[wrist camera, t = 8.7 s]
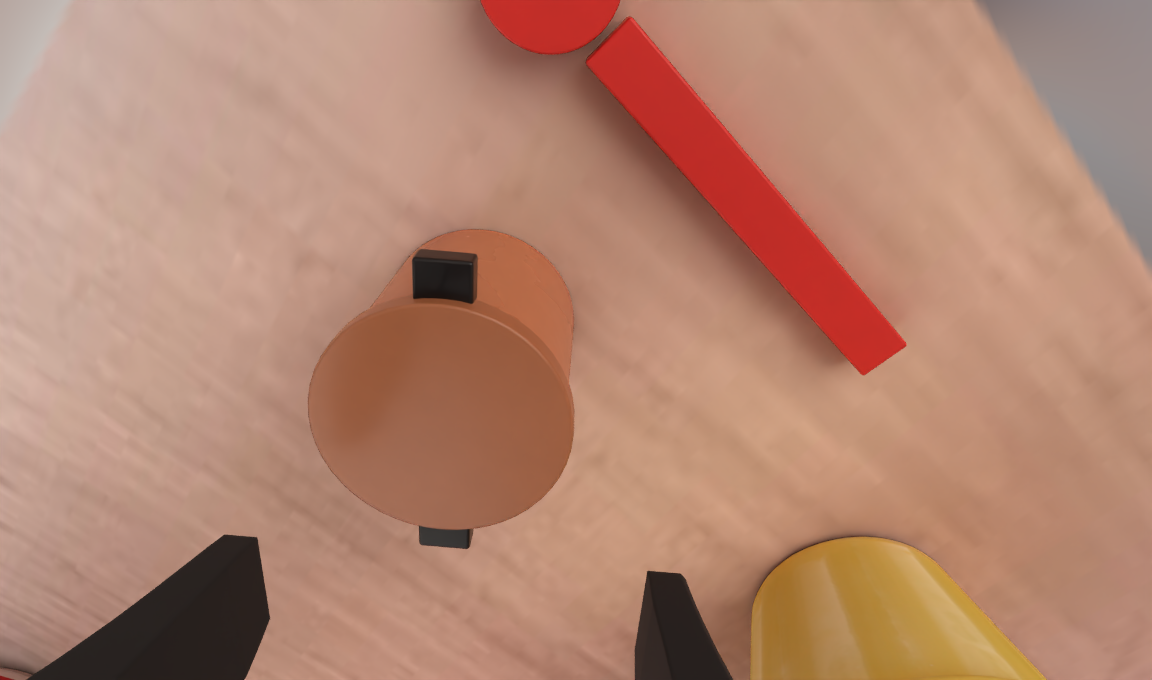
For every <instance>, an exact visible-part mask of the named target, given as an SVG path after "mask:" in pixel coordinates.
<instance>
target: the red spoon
mask: <svg viewBox="0 0 1152 680" xmlns="http://www.w3.org/2000/svg"><path fill="white" fill-rule="evenodd" d="M480 1H481V4H482V6H483V8H484V10H485V12H486V14H487V16H488V17H489V19H490V21H491V22H492V23H493V25H494V26H495V27H496V28H497V30H498V31H499V32H500V33H501V34H502V35H503V36H505V37H506V38H507V39H508V40H510V41H511V42H512V43H514V44H516V45H517V46H519V47H521V48H523V49H526V50H528V51H531V52H535V53H539V54H548V55H552V54H562V53H568V52H571V51H574V50H577V49H579V48H581V47H583V46H585V45H586V44H588V43H589V42H591V41H592V40H594V39H595V38H596V37H597V36H598V35H599V34H600V33H601V32H602V31H603V30H604V29H605V28H606V26H607V25H608V24H609V22H610V21H611V19H612V18H613V16H614V14H615V12H616V10H617V8H618V6H619V3H620V0H480ZM586 65H587V66H588V67H589V68H590V70H591V71H592V72H593V73H594V74H595V75H596V76H597V77H598V79H599V80H600V81H601V82H602V83H603V84H604V85H605V86H606V88H607V89H608V90H609V91H610V92H611V93H612V94H613V95H614V97H615V98H616V99H617V100H618V101H619V102H620V103H621V104H622V106H623V107H624V108H625V109H626V110H627V111H628V112H629V114H630V115H631V116H632V117H633V118H634V119H635V120H636V121H637V123H638V124H639V125H640V126H641V127H642V128H643V129H644V130H645V132H646V133H647V134H648V135H649V136H650V137H651V138H652V139H653V141H654V142H655V143H656V144H657V145H658V146H659V147H660V148H661V150H662V151H663V152H664V153H665V154H666V155H667V156H668V157H669V159H670V160H671V161H672V162H673V163H674V164H675V165H676V166H677V168H678V169H679V170H680V171H681V172H682V173H683V174H684V175H685V177H686V178H687V179H688V180H689V181H690V182H691V183H692V184H693V186H694V187H695V188H696V189H697V190H698V191H699V192H700V193H701V195H702V196H703V197H704V198H705V199H706V200H707V201H708V202H709V204H710V205H711V206H712V207H713V208H714V209H715V210H716V211H717V213H718V214H719V215H720V216H721V217H722V218H723V219H724V220H725V222H726V223H727V224H728V225H729V226H730V227H731V228H732V230H733V231H734V232H735V233H736V234H737V235H738V236H739V237H740V239H741V240H742V241H743V242H744V243H745V244H746V245H747V246H748V248H749V249H750V250H751V251H752V252H753V253H754V254H755V255H756V257H757V258H758V259H759V260H760V261H761V262H762V263H763V264H764V266H765V267H766V268H767V269H768V270H769V271H770V272H771V273H772V275H773V276H774V277H775V278H776V279H777V280H778V281H779V282H780V284H781V285H782V286H783V287H784V288H785V289H786V290H787V291H788V293H789V294H790V295H791V296H792V297H793V298H794V299H795V300H796V302H797V303H798V304H799V305H800V306H801V307H802V308H803V309H804V311H805V312H806V313H807V314H808V315H809V316H810V317H811V318H812V320H813V321H814V322H815V323H816V324H817V325H818V326H819V327H820V329H821V330H822V331H823V332H824V333H825V334H826V335H827V336H828V338H829V339H830V340H831V341H832V342H833V343H834V344H835V346H836V347H837V348H838V349H839V350H840V351H841V352H842V353H843V355H844V356H845V357H846V358H847V359H848V360H849V361H850V362H851V364H852V365H853V366H854V367H855V368H856V369H857V370H858V371H859V373H860V374H862V375H865V374H867V373H868V372H870V371H871V370H873V369H874V368H876V367H877V366H878V365H880V364H881V363H883V362H884V361H886V360H887V359H888V358H890V357H891V356H893V355H894V354H896V353H897V352H898V351H900V350H901V349H903V348H904V347H906V342H905V341H904V340H903V339H902V337H901V336H900V335H899V334H898V333H897V332H896V330H895V329H894V328H893V327H892V326H891V324H890V323H889V322H888V321H887V320H886V318H885V317H884V316H883V315H882V314H881V312H880V311H879V310H878V309H877V308H876V307H875V305H874V304H873V303H872V302H871V301H870V299H869V298H868V297H867V296H866V295H865V293H864V292H863V291H862V290H861V289H860V288H859V286H858V285H857V284H856V283H855V282H854V280H853V279H852V278H851V277H850V276H849V274H848V273H847V272H846V271H845V270H844V268H843V267H842V266H841V265H840V264H839V263H838V261H837V260H836V259H835V258H834V257H833V255H832V254H831V253H830V252H829V251H828V249H827V248H826V247H825V246H824V245H823V244H822V242H821V241H820V240H819V239H818V238H817V236H816V235H815V234H814V233H813V232H812V230H811V229H810V228H809V227H808V226H807V225H806V223H805V222H804V221H803V220H802V219H801V217H800V216H799V215H798V214H797V213H796V211H795V210H794V209H793V208H792V207H791V205H790V204H789V203H788V202H787V201H786V200H785V198H784V197H783V196H782V195H781V194H780V192H779V191H778V190H777V189H776V188H775V186H774V185H773V184H772V183H771V182H770V181H769V179H768V178H767V177H766V176H765V175H764V173H763V172H762V171H761V170H760V169H759V167H758V166H757V165H756V164H755V163H754V162H753V160H752V159H751V158H750V157H749V156H748V154H747V153H746V152H745V151H744V150H743V148H742V147H741V146H740V145H739V144H738V142H737V141H736V140H735V139H734V138H733V137H732V135H731V134H730V133H729V132H728V131H727V129H726V128H725V127H724V126H723V125H722V123H721V122H720V121H719V120H718V119H717V118H716V116H715V115H714V114H713V113H712V112H711V110H710V109H709V108H708V107H707V106H706V104H705V103H704V102H703V101H702V100H701V98H700V97H699V96H698V95H697V94H696V93H695V91H694V90H693V89H692V88H691V87H690V85H689V84H688V83H687V82H686V81H685V79H684V78H683V77H682V76H681V75H680V74H679V72H678V71H677V70H676V69H675V68H674V66H673V65H672V64H671V63H670V62H669V60H668V59H667V58H666V57H665V56H664V55H663V53H662V52H661V51H660V50H659V49H658V47H657V46H656V45H655V44H654V43H653V41H652V40H651V39H650V38H649V37H648V35H647V34H646V33H645V32H644V31H643V30H642V28H641V27H640V26H639V25H638V24H637V22H636V21H635V20H634V19H633V18H632V17H630V16H629V17H627V18H626V19H625V20H624V21H623V22H622V23H621V24H620V25H619V26H618V27H617V28H616V29H615V30H614V31H613V32H612V33H611V34H610V35H609V36H608V37H607V38H606V39H605V40H604V41H603V42H602V43H601V44H600V45H599V46H598V47H597V48H596V50H595V51H594V52H593V53H592V54H591V55H590V56H589V57H588V58H587V60H586Z"/></svg>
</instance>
